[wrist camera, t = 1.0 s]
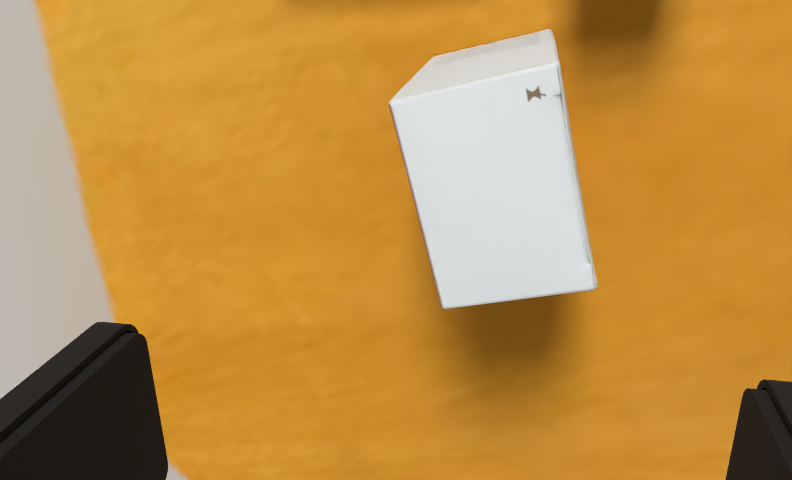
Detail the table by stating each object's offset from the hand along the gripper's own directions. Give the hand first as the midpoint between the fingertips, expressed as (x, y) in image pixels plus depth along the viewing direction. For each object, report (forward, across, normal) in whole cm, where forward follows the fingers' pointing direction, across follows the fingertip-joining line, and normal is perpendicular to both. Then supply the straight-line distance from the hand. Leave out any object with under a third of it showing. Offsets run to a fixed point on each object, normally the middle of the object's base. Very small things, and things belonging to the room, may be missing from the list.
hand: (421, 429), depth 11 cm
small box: (+24, 0, 0) cm, 24 cm away
